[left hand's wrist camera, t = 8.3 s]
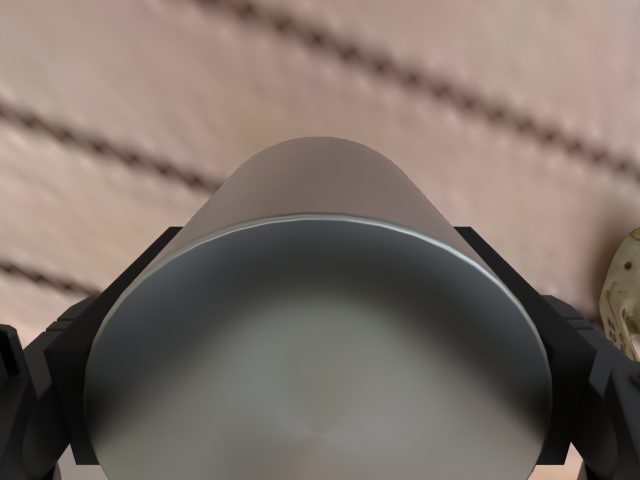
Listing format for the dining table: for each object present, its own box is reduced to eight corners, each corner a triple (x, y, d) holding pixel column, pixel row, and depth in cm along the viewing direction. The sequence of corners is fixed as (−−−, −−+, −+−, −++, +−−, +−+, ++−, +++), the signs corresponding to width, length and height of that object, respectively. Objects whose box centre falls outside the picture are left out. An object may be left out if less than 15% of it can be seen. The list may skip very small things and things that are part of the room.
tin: (402, 103, 13) (522, 137, 5) (450, 313, 16) (574, 538, 8) (170, 177, 14) (-20, 301, 6) (253, 364, 17) (196, 611, 9)
